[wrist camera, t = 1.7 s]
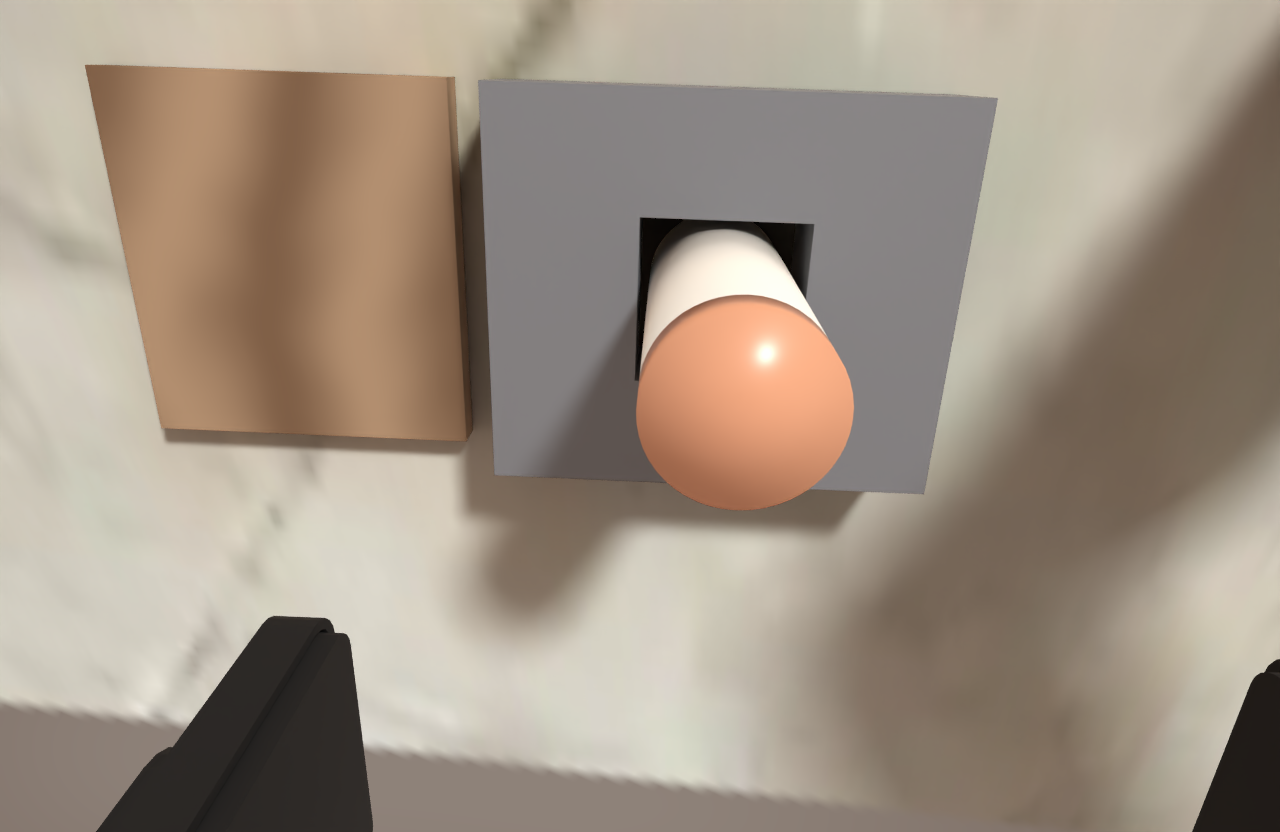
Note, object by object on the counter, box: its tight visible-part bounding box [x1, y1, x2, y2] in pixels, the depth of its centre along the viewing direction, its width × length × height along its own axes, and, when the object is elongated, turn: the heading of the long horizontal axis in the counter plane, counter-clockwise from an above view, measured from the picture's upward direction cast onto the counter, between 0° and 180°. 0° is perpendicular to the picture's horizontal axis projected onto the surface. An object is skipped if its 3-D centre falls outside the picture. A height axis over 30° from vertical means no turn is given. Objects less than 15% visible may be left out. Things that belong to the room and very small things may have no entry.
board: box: [85, 65, 473, 441], centre depth 28 cm, size 11×12×1 cm
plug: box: [636, 219, 854, 510], centre depth 22 cm, size 4×4×12 cm
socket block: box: [478, 79, 998, 494], centre depth 26 cm, size 14×12×4 cm
